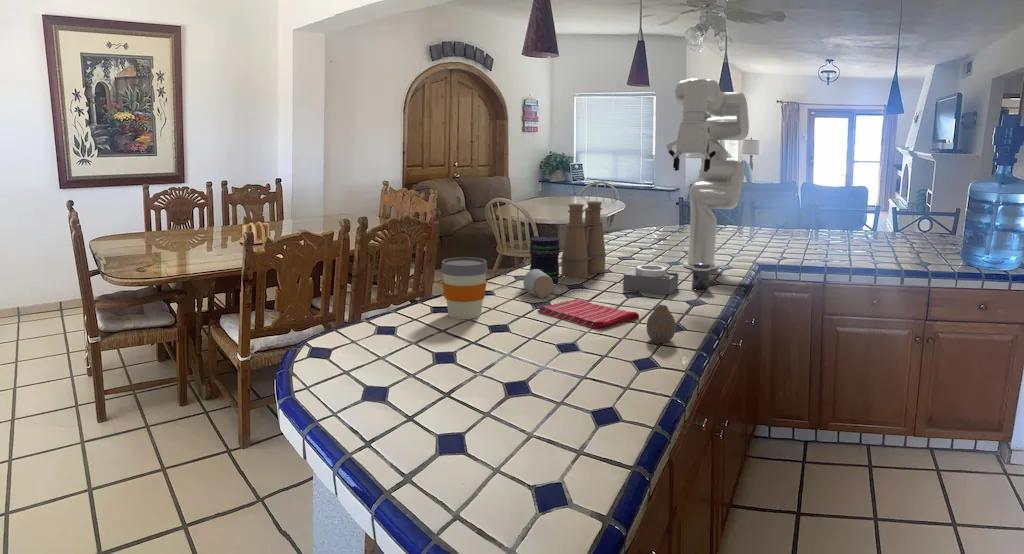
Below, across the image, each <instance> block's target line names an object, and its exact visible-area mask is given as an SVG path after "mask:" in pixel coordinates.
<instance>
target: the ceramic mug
mask: <svg viewBox="0 0 1024 554" xmlns="http://www.w3.org/2000/svg"><path fill="white" fill-rule="evenodd" d="M523 286H524V289H525V290H526V291H527V292H528V293H530V294H532V295H534V296H536V297H538V298H547V297H549V296H550V295H552V294H554V295H557V296H559V295H560V293H561V289H559V288H557V287H556V286H555V285H554V283H553V280H552V279H551V278H550V277H549V276H548V275H547V274H545V273H544V272H543V271H541V270H539V269H533V270H530V269H529V270H528V271H527V272H526V274H525V276H523Z"/></svg>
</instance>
